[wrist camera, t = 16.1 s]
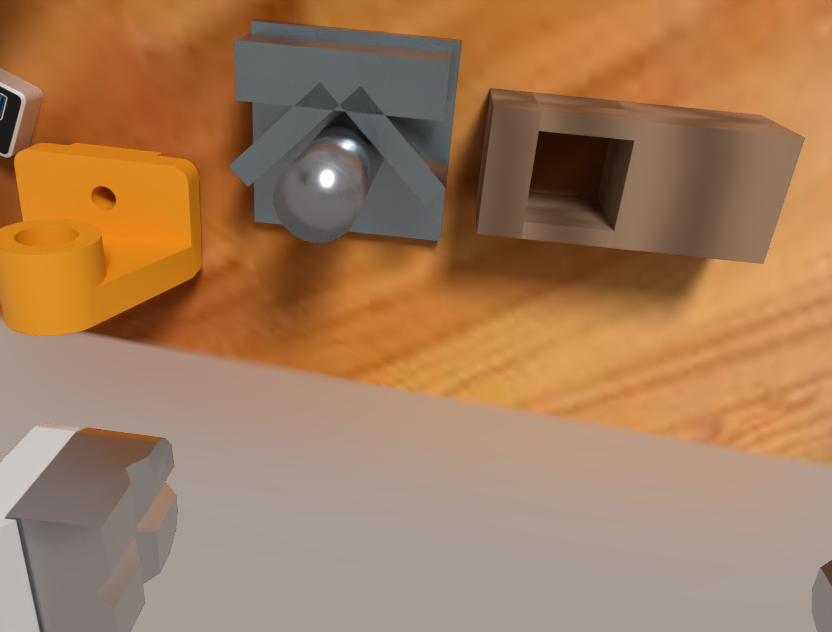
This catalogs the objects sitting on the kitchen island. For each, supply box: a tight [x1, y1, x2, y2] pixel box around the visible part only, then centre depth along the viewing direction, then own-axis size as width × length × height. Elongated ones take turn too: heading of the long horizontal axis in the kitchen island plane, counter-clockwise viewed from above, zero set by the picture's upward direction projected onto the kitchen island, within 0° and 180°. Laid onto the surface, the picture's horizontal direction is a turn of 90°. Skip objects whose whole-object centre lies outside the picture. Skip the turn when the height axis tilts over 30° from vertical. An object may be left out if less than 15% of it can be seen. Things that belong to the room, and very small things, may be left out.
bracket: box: [0, 143, 202, 336], centre depth 42 cm, size 11×7×12 cm, turn 84°
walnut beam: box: [476, 88, 805, 264], centre depth 41 cm, size 16×7×6 cm, turn 85°
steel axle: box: [273, 113, 384, 243], centre depth 38 cm, size 4×4×11 cm
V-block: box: [229, 20, 462, 241], centre depth 41 cm, size 12×12×6 cm
